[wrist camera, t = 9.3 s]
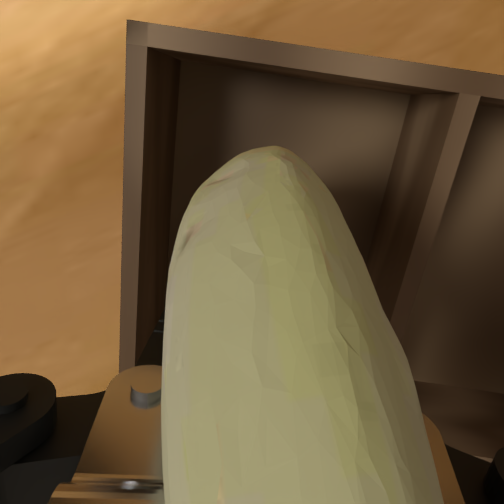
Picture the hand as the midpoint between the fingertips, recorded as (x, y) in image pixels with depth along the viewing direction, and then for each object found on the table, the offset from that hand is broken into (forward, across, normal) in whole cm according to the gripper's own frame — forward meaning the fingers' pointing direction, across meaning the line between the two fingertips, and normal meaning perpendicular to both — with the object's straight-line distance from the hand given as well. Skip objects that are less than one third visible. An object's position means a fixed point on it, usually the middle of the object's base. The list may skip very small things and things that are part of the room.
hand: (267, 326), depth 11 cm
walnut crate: (+8, -5, 0) cm, 10 cm away
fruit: (+6, 0, 0) cm, 6 cm away
